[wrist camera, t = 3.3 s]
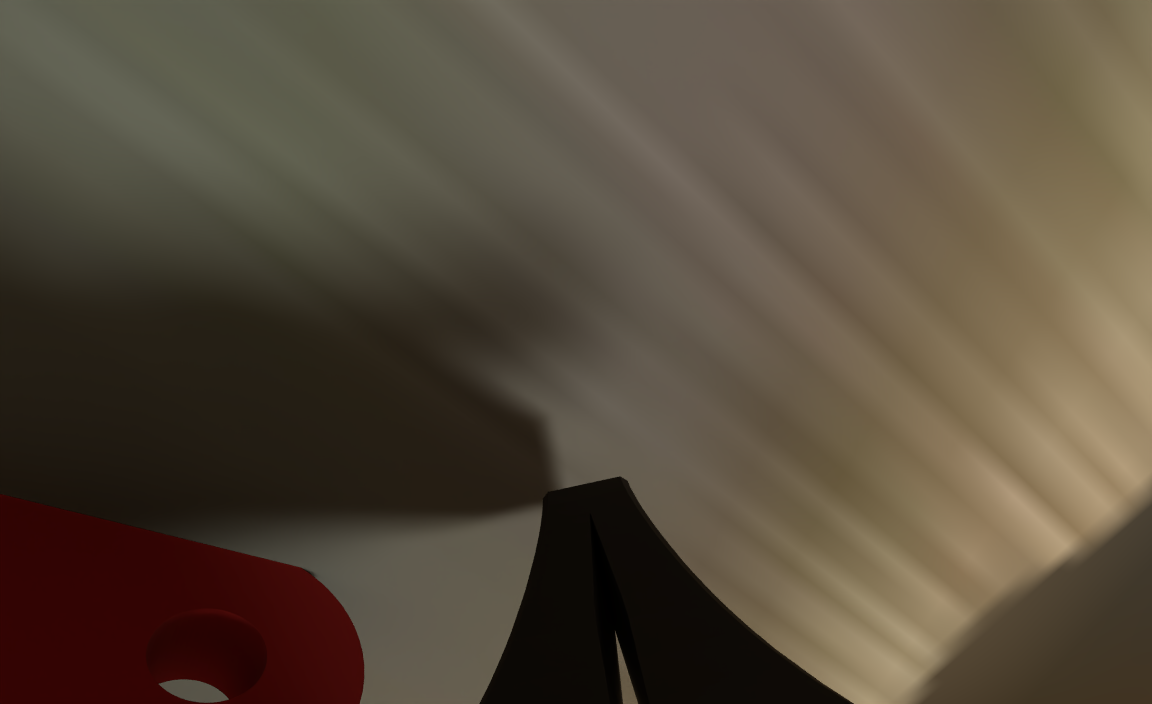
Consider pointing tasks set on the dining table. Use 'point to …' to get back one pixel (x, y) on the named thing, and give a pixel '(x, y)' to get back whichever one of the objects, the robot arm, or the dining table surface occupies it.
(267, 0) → the dining table surface
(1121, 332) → the dining table surface
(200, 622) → the mechanical linkage
